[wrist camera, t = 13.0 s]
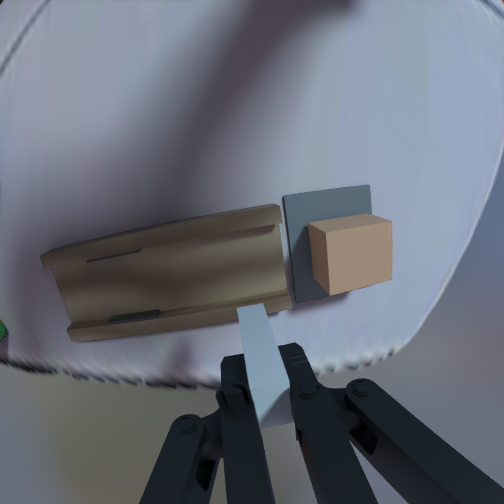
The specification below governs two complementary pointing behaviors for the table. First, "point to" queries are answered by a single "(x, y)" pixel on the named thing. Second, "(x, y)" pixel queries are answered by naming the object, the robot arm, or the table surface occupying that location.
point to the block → (351, 252)
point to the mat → (311, 210)
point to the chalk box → (2, 331)
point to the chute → (172, 274)
